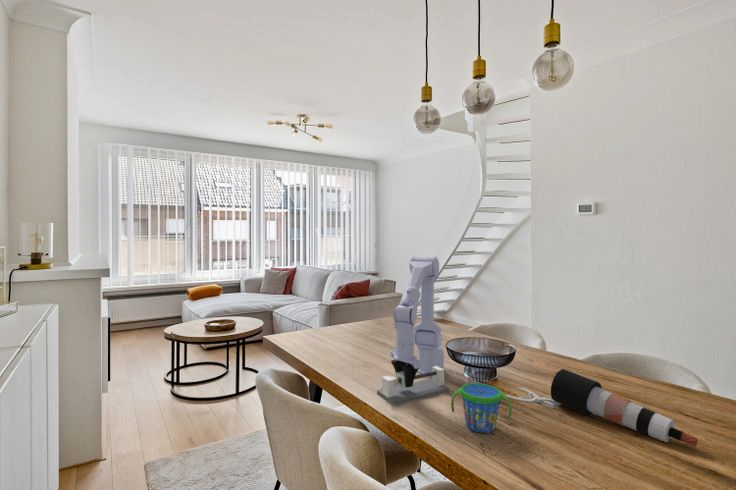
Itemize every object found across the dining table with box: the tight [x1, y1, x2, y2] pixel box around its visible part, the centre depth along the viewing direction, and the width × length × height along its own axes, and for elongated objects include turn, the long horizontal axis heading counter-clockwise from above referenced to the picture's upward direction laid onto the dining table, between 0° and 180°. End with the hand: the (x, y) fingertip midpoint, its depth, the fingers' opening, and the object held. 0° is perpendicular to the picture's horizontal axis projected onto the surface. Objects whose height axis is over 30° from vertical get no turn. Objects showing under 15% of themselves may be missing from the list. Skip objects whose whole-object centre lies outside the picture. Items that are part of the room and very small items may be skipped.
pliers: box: [504, 386, 560, 409], centre depth 125 cm, size 10×2×15 cm
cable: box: [550, 368, 699, 448], centre depth 108 cm, size 10×34×10 cm, turn 36°
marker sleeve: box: [396, 371, 415, 389], centre depth 129 cm, size 4×4×4 cm
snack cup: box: [450, 382, 513, 434], centre depth 107 cm, size 16×10×10 cm
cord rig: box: [376, 366, 451, 406], centre depth 130 cm, size 22×10×6 cm, turn 119°
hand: (405, 384), depth 129 cm, fingers closed on marker sleeve, 4 cm apart
